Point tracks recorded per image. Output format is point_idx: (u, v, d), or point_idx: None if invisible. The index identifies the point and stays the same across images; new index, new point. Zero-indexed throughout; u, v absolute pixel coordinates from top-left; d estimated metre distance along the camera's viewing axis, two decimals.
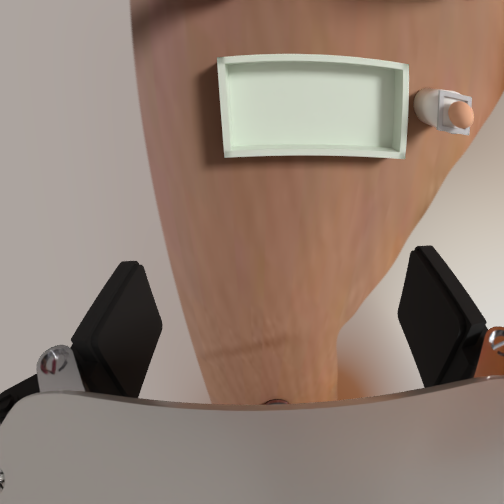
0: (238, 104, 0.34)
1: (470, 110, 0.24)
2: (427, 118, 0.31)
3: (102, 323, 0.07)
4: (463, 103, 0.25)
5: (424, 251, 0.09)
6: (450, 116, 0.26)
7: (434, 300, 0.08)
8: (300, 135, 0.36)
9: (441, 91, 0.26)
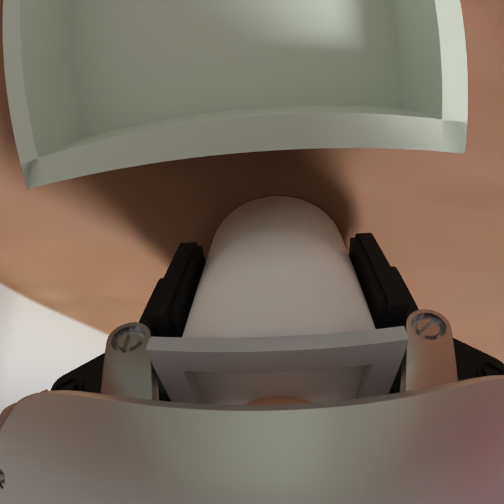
0: None
1: None
2: (221, 263, 0.08)
3: (177, 299, 0.08)
4: None
5: (361, 238, 0.10)
6: None
7: (364, 283, 0.09)
8: None
9: (399, 348, 0.05)
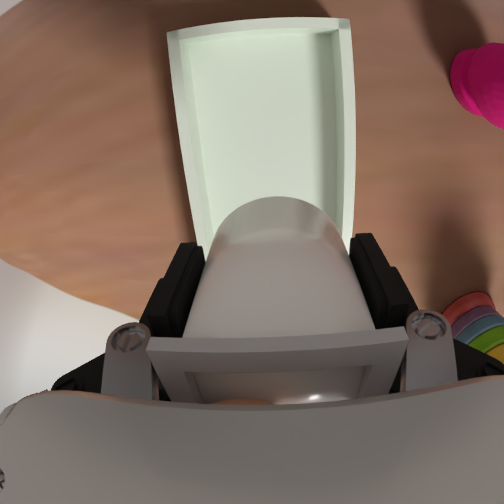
0: (260, 48, 0.19)
1: None
2: (221, 263, 0.08)
3: (177, 299, 0.08)
4: None
5: (361, 238, 0.10)
6: None
7: (364, 283, 0.09)
8: (215, 145, 0.23)
9: (398, 348, 0.05)
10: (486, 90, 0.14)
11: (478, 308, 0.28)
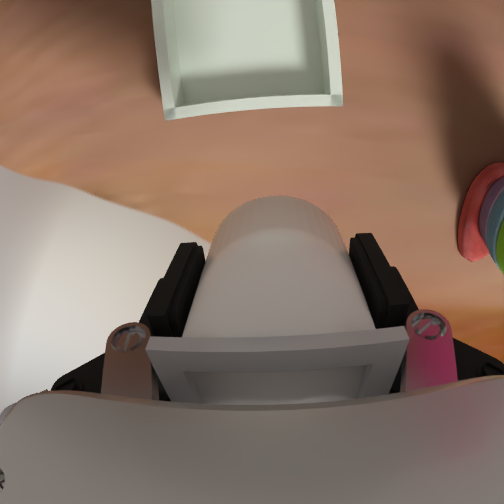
0: None
1: None
2: (221, 262, 0.08)
3: (177, 299, 0.08)
4: None
5: (361, 238, 0.10)
6: None
7: (364, 283, 0.09)
8: None
9: (399, 348, 0.05)
10: None
11: None
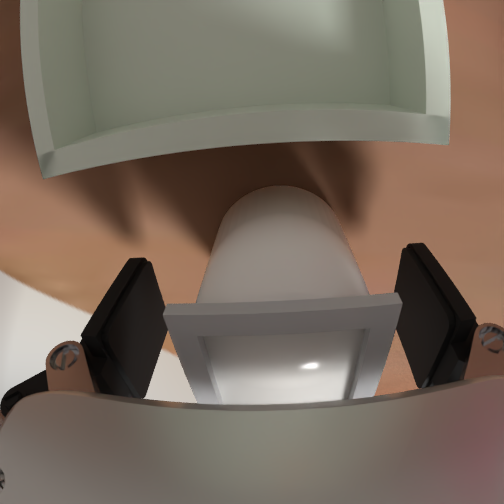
0: None
1: None
2: (229, 243, 0.09)
3: (112, 319, 0.08)
4: None
5: (415, 248, 0.09)
6: None
7: (424, 297, 0.08)
8: None
9: (393, 312, 0.06)
10: None
11: None
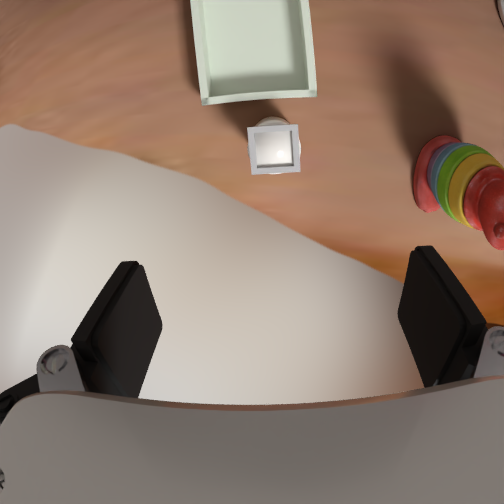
0: None
1: None
2: (258, 124, 0.31)
3: (102, 323, 0.07)
4: None
5: (424, 251, 0.09)
6: None
7: (434, 300, 0.08)
8: None
9: (296, 126, 0.28)
10: None
11: (451, 142, 0.30)
